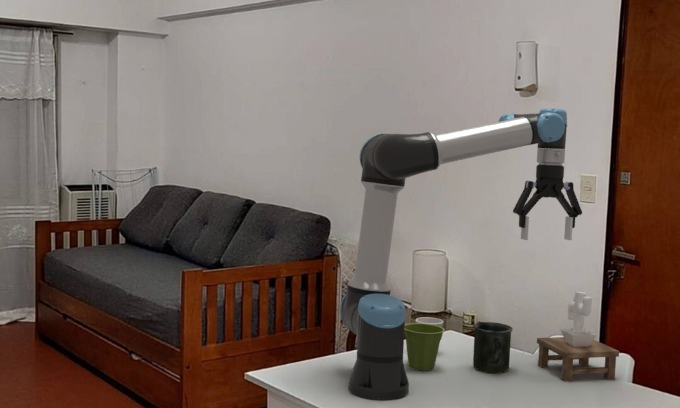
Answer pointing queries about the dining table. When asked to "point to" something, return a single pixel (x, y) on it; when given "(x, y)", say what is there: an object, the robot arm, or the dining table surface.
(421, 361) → the plant pot
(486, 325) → the mug
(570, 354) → the walnut stool
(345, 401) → the dining table surface
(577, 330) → the figurine
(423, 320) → the dixie cup
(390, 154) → the robot arm
